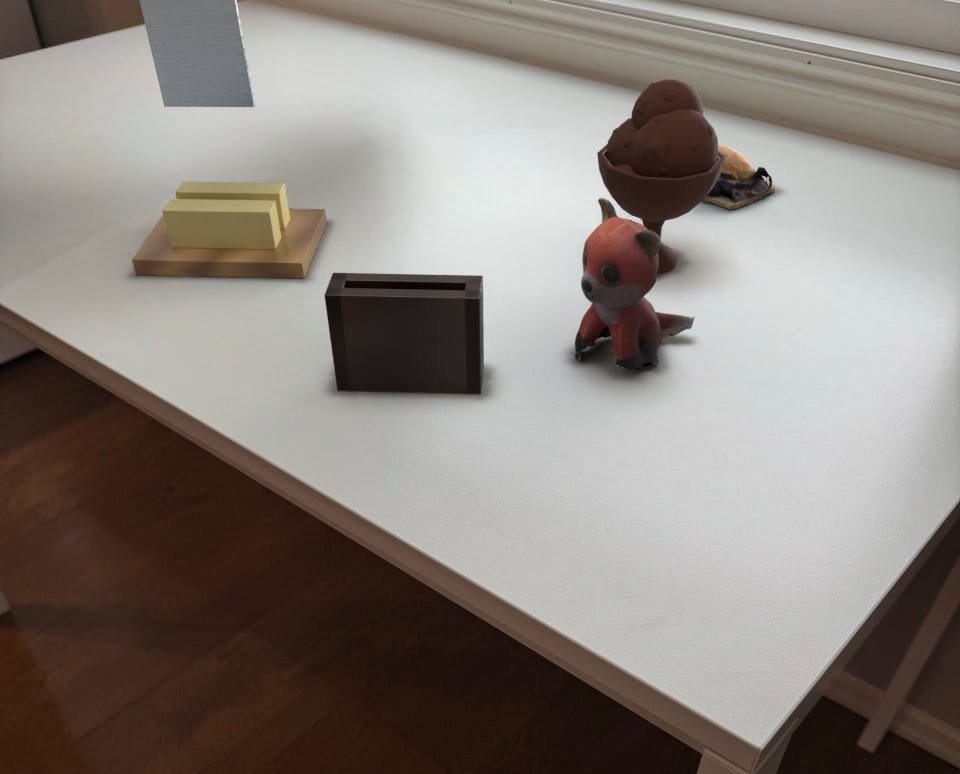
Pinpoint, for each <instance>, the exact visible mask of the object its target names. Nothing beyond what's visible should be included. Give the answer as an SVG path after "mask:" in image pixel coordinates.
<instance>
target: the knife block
mask: <svg viewBox="0 0 960 774" xmlns="http://www.w3.org/2000/svg"><path fill="white" fill-rule="evenodd" d="M324 303H325V309H326V310H325V311H326V318H327V323H328V332H329V339H330V340H329V341H330V346H331V353H332V355H331V356H332V362H333V370H334V376H335V383H336V384H335V385H336V390H337V392H372V393H373V392H375V393H378V392H379V393H408V394H409V393H410V394H411V393H413V394H415V393H416V394H449V395H481V394H482V389H483V388H482V387H483V381H484V372H485V347H484V346H485V344H484V340H485V339H484V337H485V336H484V335H485V334H484V333H485V331H484V276H483V275H471V274H470V275H468V274H462V275H461V274H420V273H419V274H418V273H417V274H416V273H373V272H372V273H368V272H363V273H362V272H332V273H331V276H330V279H329V282H328V285H327V287H326V290H325V293H324Z"/></svg>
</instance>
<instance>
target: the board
mask: <svg viewBox="0 0 960 774" xmlns="http://www.w3.org/2000/svg"><path fill="white" fill-rule="evenodd" d="M288 208H289V215H290V220H289V222H288V224H287V226H286V229H285V230H280V232H281V239H280V241H279V244H278V246H277V248H276V249H275V250H272V249H218V248H172V247H171V244H170V240H169V236H168V232H167V228H166V224H165V220H164V216H163V215H162V216H161V217H160V219H159V220H158V221H157V223H156V224H155V226H154V227H153V229H152V230H151V231H150V233H149V234H148V236H147V237H146V238H145V240H144V241H143V243H142V244H141V246H140V247H139V249H138V250H137V251H136V252H135V254H134V256H133V257H132V259H131V262H132V266H133V271H134V273H135V275H136V276H158V277H159V276H160V277H161V276H163V277H164V276H166V277H207V278H208V277H212V278H213V277H214V278H215V277H216V278H217V277H218V278H257V279H258V278H260V279H261V278H263V279H265V278H267V279H305V277H306V275H307V273H308V271H309V268H310V265H311V263H312V260H313V258H314V256H315V253H316V251H317V248H318V246H319V243H320V241H321V239H322V237H323V234H324V232H325V229H326V227H327V224H328V222H327V214H326V209H325V208H290V207H288Z"/></svg>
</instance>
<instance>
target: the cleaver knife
mask: <svg viewBox="0 0 960 774" xmlns="http://www.w3.org/2000/svg"><path fill="white" fill-rule="evenodd" d="M139 4H140V5H139V6H140V8H141V9H140V10H141V13H142V17H143V22H144V25H145V29H146V35H147V38H148V43H149V48H150V51H151V55H152V59H153V65H154V68H155V71H156V77H157V81H158V85H159V90H160V94H161V98H162V102H163V107H165V108H166V107H167V108H189V107H190V108H254V107H255V106H256V104H255V97H254V91H253V86H252V80H251V76H250V68H249V63H248V58H247V57H248V56H247V52H246V45H245V40H244V39H245V38H244V33H243V27H242V23H241V17H240V10H239V5H238V0H139Z"/></svg>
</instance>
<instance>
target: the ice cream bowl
mask: <svg viewBox="0 0 960 774" xmlns="http://www.w3.org/2000/svg"><path fill="white" fill-rule="evenodd" d="M718 145H719V139H718V136H717V133H716V131H715V128H714V127H713V126H712V124H711V123H710V122H709V121H708V120H707V119H706V117H705V116H704V107H703V103H702V99H701V98H700V95H699V94H698V92H697V90H696V89H695V88H693V86H691V85H690V84H689V83H687V81H686V82H685V81H682V80H680V79H676V78H671V79H670V78H667V79H666V78H665V79H662V80H659V81H656V82H652V83H650V84H649V85H648V87H647V88H645V89H644V90H642V92H641V94H640V95H639V96H638V97H637V99H636V100H635V103H634V105H633V108H632V110H631V116H630V117H629V118H627V119H626V120H624V122H622V123H621V124H620V125H619V126H618V127H616V128H614V129H613V130H612V133H611V135H610V137H609V138H608V140H607V144H605V145H604V146H603V147H601V149H600V150H599V151H597V153H596V154H597V163H598V164H597V165H598V171H599V174H600V177H601V180H602V182H603V185H604V187H605V188H606V190H607V192H608V193H609V195H610V196H611V197H612V199H613V200H614V202H616V204H617V205H618V207H620V209H621V210H622V211H624V212H625V213H627V214H628V215H630V216H632V217H635V218H637V219H640V220H641V222H642V225H643V226H645V227H646V228H647V229H648V230H651V231H653V232H655V233H656V234H657V235H658V236H659V237H660V239H661V241H660V249H659V251H658V257H659V265H658V270H657V275H659V274H663V273H668V272H671V271H674V269H675V268H676V267H677V265H678V264H679V257H678V255H677V254H676V252H675V251H674V249H673V248H671V247H670V246H668V245H667V244H664V243H663V242H662V233H663V231H662V230H663V226H664V224H665V222H666V221H669V220H673V219H678V218H681V217H682V216H684V215H686V214H688V213H690V212H691V211H692V210H694V209H695V208H696V207H697V206H699V205H700V204H701V203H702V202H703V201H704V198H705V197H706V196H707V194H708V193H709V192H710V191H711V189H712V188H713V186H714V185H715V183H716V181H717V180H718V178H719V176H720V174H721V171H722V168H723V166H724V163H725V160H726V158H725V157H724V156H723V155H722V154H721V153H720V152H719V151H718Z"/></svg>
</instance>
